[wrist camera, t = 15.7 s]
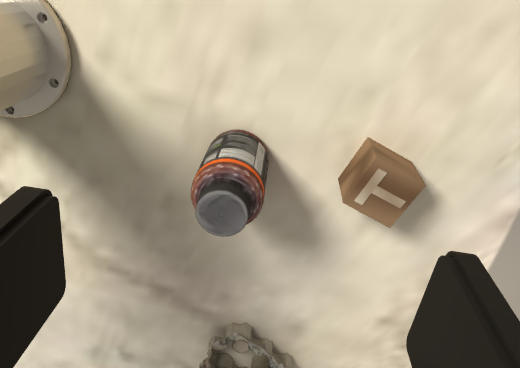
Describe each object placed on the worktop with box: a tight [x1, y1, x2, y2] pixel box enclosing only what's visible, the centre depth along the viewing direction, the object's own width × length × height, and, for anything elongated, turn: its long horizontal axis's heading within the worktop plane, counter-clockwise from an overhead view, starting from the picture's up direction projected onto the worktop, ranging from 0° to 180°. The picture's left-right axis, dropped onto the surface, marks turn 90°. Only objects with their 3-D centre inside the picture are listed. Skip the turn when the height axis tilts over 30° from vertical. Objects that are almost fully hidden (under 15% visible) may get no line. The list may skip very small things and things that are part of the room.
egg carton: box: [200, 323, 292, 368], centre depth 52 cm, size 11×8×4 cm
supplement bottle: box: [191, 130, 268, 237], centre depth 37 cm, size 6×6×11 cm
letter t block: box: [338, 137, 426, 228], centre depth 39 cm, size 5×5×5 cm
